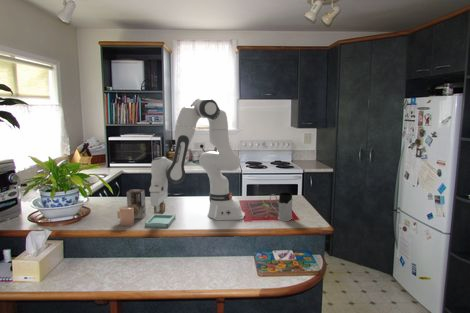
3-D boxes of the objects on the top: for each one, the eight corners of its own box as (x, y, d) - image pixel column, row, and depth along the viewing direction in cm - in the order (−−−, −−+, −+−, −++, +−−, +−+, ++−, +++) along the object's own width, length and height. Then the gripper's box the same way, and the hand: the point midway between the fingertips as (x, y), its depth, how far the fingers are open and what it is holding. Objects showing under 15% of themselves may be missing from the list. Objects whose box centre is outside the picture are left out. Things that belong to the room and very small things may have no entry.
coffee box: (146, 215, 199) (145, 189, 197) (142, 218, 193) (141, 192, 190) (131, 214, 200) (130, 189, 198) (127, 218, 194) (126, 191, 191)
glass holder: (290, 221, 189) (290, 196, 187) (266, 218, 195) (267, 193, 193) (294, 217, 197) (295, 193, 195) (271, 214, 203) (272, 190, 201)
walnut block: (165, 211, 188) (165, 203, 188) (162, 214, 183) (162, 205, 183) (156, 211, 188) (156, 202, 188) (153, 213, 184) (154, 204, 183)
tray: (175, 217, 195) (175, 214, 194) (168, 227, 179) (167, 223, 179) (154, 217, 196) (153, 214, 195) (144, 226, 180) (144, 223, 179)
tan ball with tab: (136, 221, 188) (135, 206, 187) (131, 226, 180) (130, 210, 179) (121, 221, 189) (120, 205, 187) (115, 225, 181) (114, 209, 180)
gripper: (159, 181, 195) (159, 204, 196) (148, 189, 174) (148, 214, 176) (169, 182, 194) (170, 204, 196) (159, 189, 174) (160, 215, 176)
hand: (159, 209), depth 186 cm, fingers closed on walnut block, 5 cm apart
